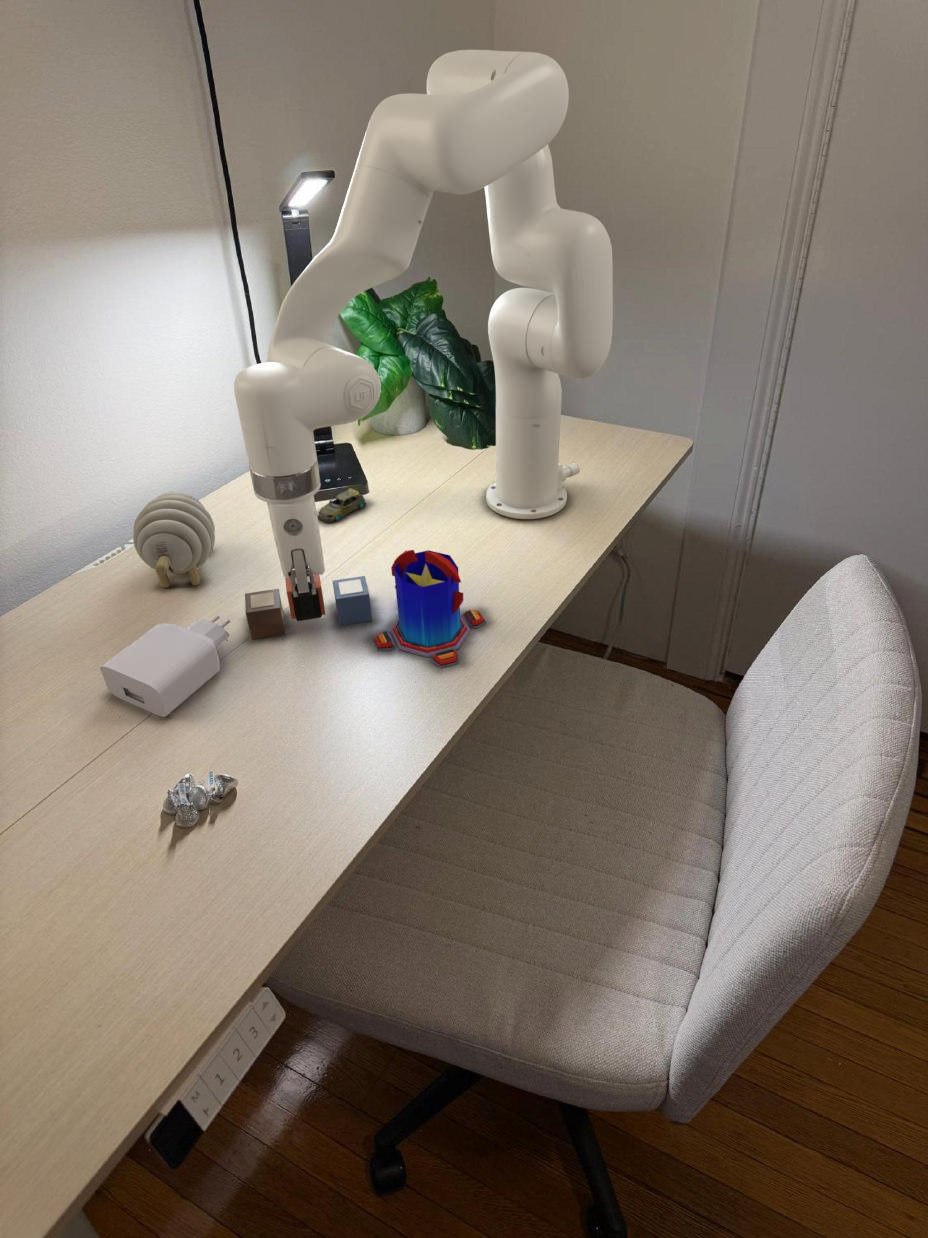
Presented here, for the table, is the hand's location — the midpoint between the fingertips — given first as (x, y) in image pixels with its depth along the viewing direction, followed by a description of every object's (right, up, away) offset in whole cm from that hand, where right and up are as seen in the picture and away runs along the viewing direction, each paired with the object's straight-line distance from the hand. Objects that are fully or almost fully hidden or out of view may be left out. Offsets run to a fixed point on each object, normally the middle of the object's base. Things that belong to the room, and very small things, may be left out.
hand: (307, 605), depth 103 cm
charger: (-14, -8, -5) cm, 17 cm away
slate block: (+6, -1, +2) cm, 6 cm away
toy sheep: (-20, +5, +11) cm, 23 cm away
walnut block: (-5, -3, +1) cm, 6 cm away
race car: (+1, +15, +24) cm, 28 cm away
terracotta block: (0, 0, 0) cm, 0 cm away
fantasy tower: (+16, -3, -1) cm, 16 cm away
